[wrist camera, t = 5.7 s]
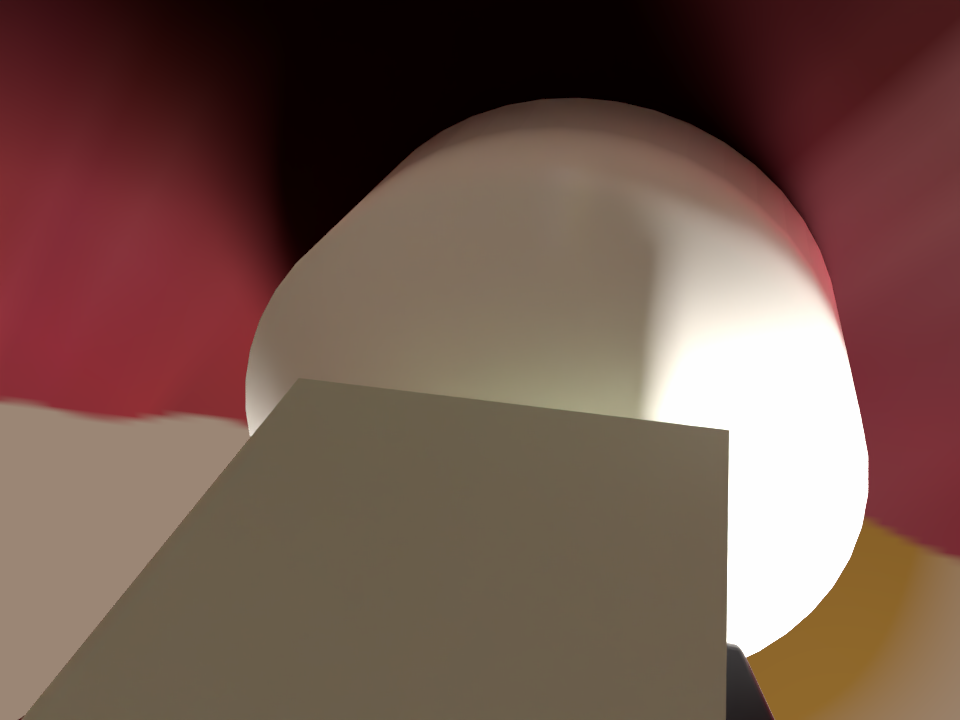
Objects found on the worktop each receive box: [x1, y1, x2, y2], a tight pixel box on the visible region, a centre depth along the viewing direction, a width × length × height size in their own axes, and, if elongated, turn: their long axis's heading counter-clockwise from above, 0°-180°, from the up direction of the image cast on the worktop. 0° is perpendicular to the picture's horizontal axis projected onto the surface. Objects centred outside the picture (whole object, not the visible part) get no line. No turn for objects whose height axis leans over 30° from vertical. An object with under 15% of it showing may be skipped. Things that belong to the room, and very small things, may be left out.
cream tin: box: [246, 98, 868, 657], centre depth 14 cm, size 9×9×4 cm
